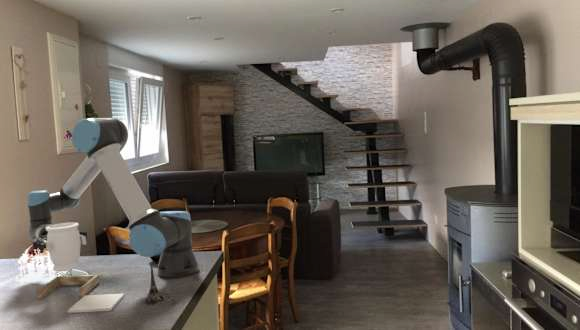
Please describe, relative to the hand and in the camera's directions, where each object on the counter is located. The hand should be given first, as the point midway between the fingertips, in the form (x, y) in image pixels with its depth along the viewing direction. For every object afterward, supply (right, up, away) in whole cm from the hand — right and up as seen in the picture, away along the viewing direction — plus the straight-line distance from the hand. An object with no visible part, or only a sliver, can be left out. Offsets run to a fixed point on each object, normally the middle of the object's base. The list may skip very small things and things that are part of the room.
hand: (67, 244), depth 171 cm
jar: (-2, -9, +4) cm, 10 cm away
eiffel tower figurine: (+32, -17, -10) cm, 38 cm away
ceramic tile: (+13, -18, -9) cm, 24 cm away
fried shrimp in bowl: (+22, -13, +41) cm, 49 cm away
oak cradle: (-2, -17, +5) cm, 18 cm away
